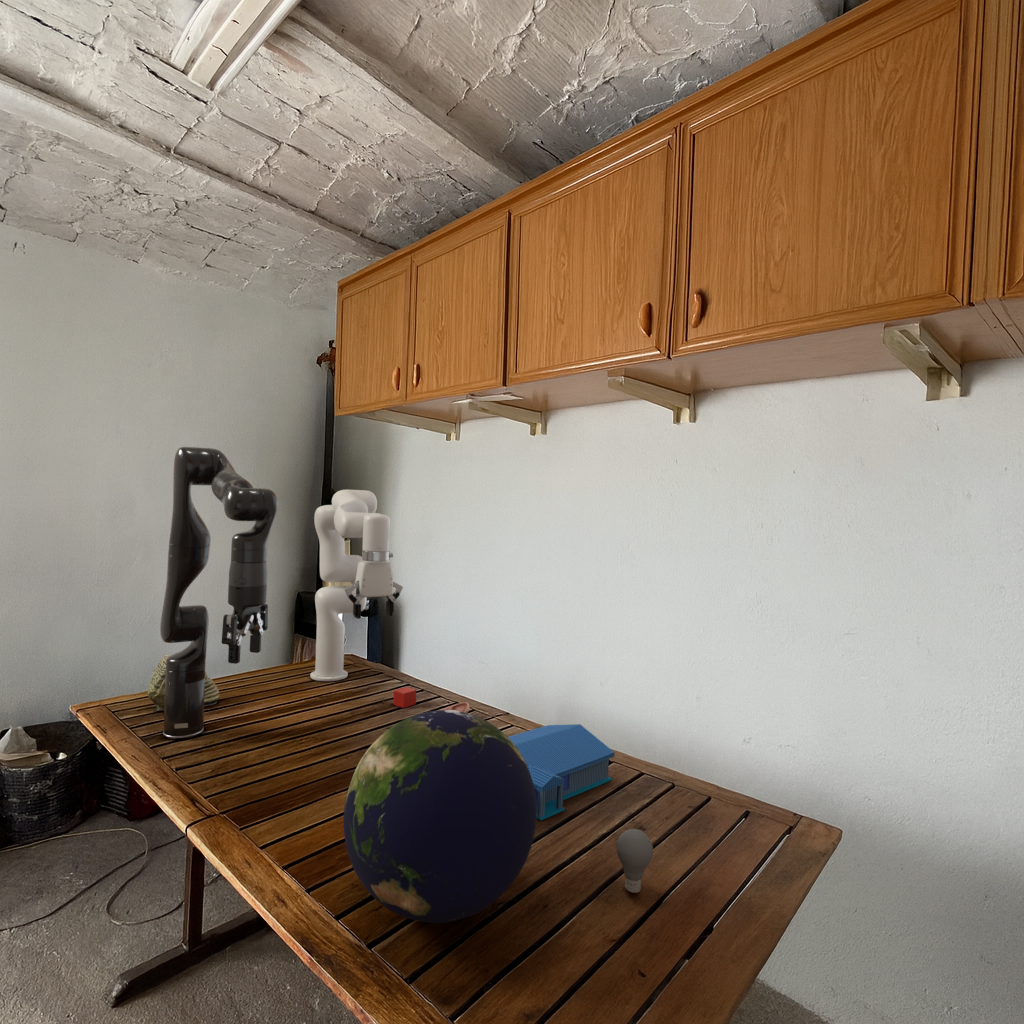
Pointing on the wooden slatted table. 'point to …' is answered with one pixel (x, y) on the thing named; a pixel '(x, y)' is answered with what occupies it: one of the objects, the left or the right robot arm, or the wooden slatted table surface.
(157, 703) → the fossil
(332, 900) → the wooden slatted table surface
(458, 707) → the anatomical model
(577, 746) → the model building
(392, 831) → the globe
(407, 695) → the block
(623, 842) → the light bulb
